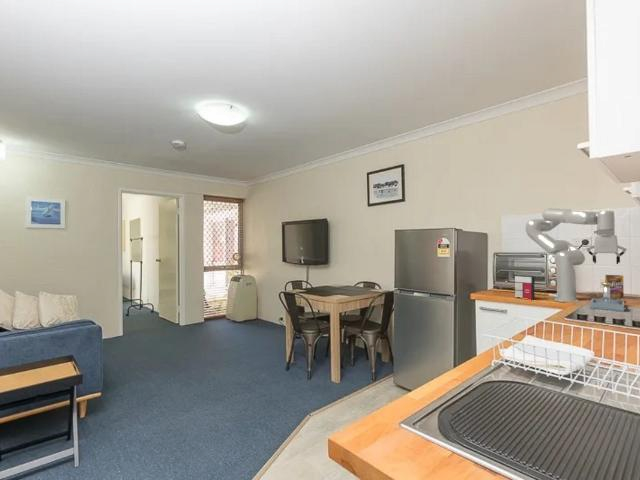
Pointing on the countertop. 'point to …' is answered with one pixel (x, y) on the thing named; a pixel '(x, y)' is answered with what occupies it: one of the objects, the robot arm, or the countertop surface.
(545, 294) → the countertop surface
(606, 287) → the steel pin
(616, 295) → the socket block
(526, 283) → the grey and crimson box
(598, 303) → the tray
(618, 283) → the candy box
